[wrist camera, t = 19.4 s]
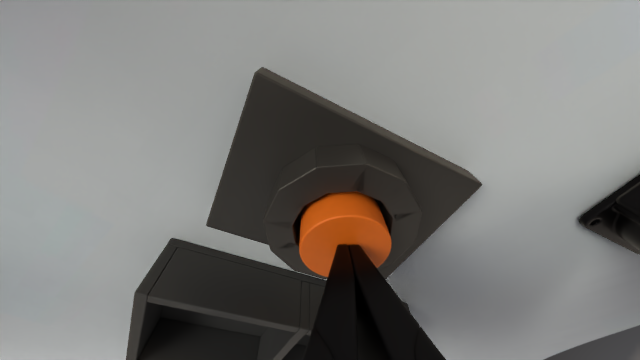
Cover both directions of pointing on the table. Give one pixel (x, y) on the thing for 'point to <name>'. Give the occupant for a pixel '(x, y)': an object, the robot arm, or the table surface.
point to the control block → (327, 172)
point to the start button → (342, 229)
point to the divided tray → (221, 308)
